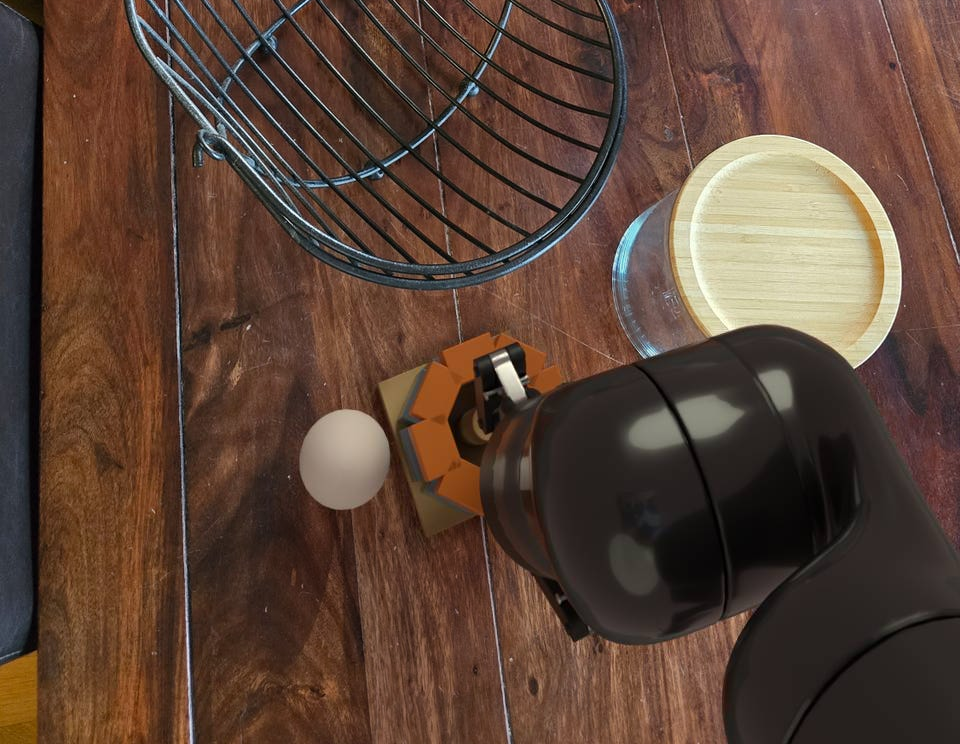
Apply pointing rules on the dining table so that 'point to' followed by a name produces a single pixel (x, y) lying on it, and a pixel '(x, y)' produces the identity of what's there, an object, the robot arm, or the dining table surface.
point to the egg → (344, 459)
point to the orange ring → (436, 406)
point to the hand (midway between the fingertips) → (511, 486)
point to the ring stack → (397, 405)
